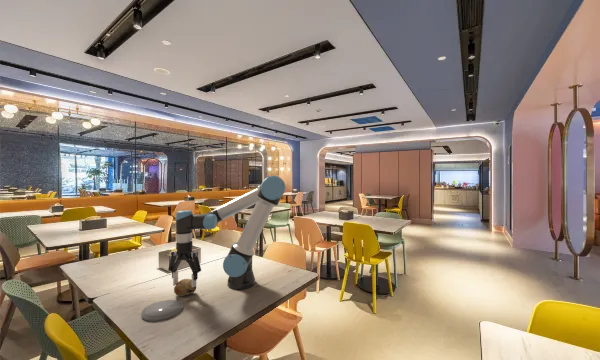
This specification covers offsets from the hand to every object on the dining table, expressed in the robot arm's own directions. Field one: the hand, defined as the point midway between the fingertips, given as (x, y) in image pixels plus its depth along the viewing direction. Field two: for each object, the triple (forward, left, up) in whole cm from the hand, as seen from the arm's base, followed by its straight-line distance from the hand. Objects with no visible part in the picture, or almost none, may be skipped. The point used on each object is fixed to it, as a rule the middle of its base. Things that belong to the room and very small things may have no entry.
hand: (184, 285), depth 127 cm
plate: (-1, +16, -5) cm, 17 cm away
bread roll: (0, 0, -3) cm, 3 cm away
